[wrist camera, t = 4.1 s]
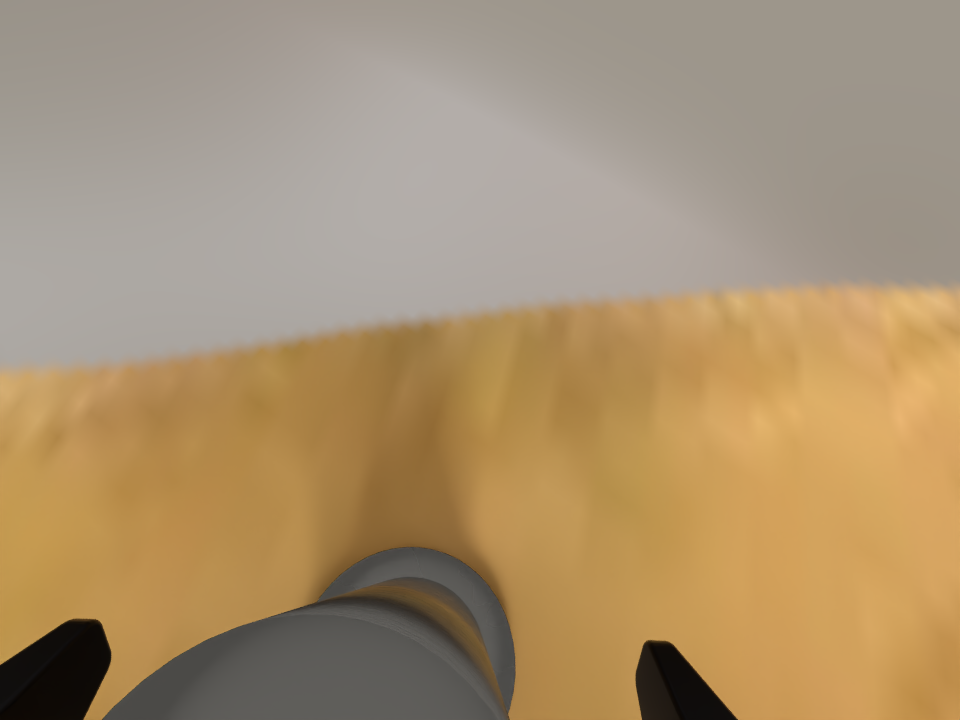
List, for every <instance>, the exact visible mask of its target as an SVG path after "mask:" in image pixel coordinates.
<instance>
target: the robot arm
mask: <svg viewBox="0 0 960 720" xmlns="http://www.w3.org/2000/svg"><path fill="white" fill-rule="evenodd" d="M110 662H111V649H110V646H109V644H108V641H107V638H106V635H105V632H104V629H103V626H102V624H101V622H100V621H98V620H96V619H72V620H69V621H67V622H65V623H63V624H61V625H60V626H58V627H57V628H55V629H54V630H52V631H51V632H49V633H48V634H46V635H45V636H43V637H42V638H40V639H39V640H37V641H36V642H34V643H33V644H31V645H30V646H28V647H27V648H25V649H24V650H22V651H21V652H19V653H18V654H16V655H15V656H13V657H12V658H10V659H9V660H7V661H6V662H4V663H2V664H1V665H0V720H83V719H84V717H85V715H86V713H87V711H88V709H89V707H90V705H91V703H92V701H93V699H94V697H95V695H96V693H97V691H98V689H99V687H100V685H101V683H102V681H103V679H104V677H105V675H106V673H107V671H108V668H109V665H110ZM636 689H637V694H638V700H639V705H640V711H641V716H642V720H738V719H737V718H736V717H735V716H734V715H733V714H732V712H731V711H730V710H729V709H728V708H727V707H726V705H725V704H724V703H723V702H722V701H721V700H720V698H719V697H718V696H717V695H716V694H715V693H714V691H713V690H712V689H711V688H710V687H709V686H708V684H707V683H706V682H705V681H704V680H703V679H702V677H701V676H700V675H699V674H698V673H697V672H696V671H695V669H694V668H693V667H692V666H691V665H690V664H689V662H688V661H687V660H686V659H685V658H684V657H683V655H682V654H681V653H680V652H679V651H678V650H677V648H676V647H675V646H674V645H673V644H671V643H670V642H668V641H656V640H648V641H646V642H645V643H644V645H643V648H642V652H641V655H640V659H639V663H638V666H637V670H636Z"/></svg>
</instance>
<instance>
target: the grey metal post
mask: <svg viewBox="0 0 960 720" xmlns="http://www.w3.org/2000/svg"><path fill="white" fill-rule="evenodd" d="M514 682H515V653H514V645H513V639H512V635H511V631H510V627H509V624H508V621H507V618H506V616H505V613H504V611H503V609H502V607H501V605H500V603H499V601H498V599H497V597H496V596H495V594H494V593H493V592H492V590H491V589H490V587H489V586H488V585H487V584H486V582H485V581H484V580H483V579H482V578H481V577H480V576H479V575H478V574H477V573H476V572H475V571H473V570H472V569H471V568H470V567H469V566H467V565H466V564H464V563H463V562H461V561H460V560H458V559H456V558H454V557H452V556H450V555H448V554H445V553H442V552H439V551H436V550H432V549H426V548H420V547H403V548H395V549H390V550H386V551H382V552H379V553H376V554H374V555H371V556H369V557H367V558H365V559H363V560H361V561H359V562H358V563H356V564H354V565H353V566H351V567H350V568H349V569H347V570H346V571H345V572H343V573H342V574H341V575H340V576H339V577H338V578H337V579H336V580H335V581H334V582H333V583H331V585H330V586H329V587H328V588H327V589H326V591H325V592H324V593H323V594H322V595H321V597H320V598H319V600H318V601H317V602H316V603H313V604H310V605H307V606H303V607H300V608H297V609H294V610H291V611H287V612H284V613H281V614H278V615H275V616H271V617H268V618H265V619H262V620H259V621H255V622H252V623H249V624H246V625H243V626H239V627H236V628H234V629H232V630H229V631H227V632H224V633H222V634H220V635H217V636H215V637H212V638H210V639H207V640H205V641H203V642H202V643H200V644H198V645H196V646H195V647H193V648H191V649H189V650H187V651H186V652H184V653H182V654H180V655H179V656H177V657H175V658H173V659H172V660H171V661H169V662H168V663H167V664H165V665H164V666H162V667H161V668H160V669H158V670H157V671H155V672H154V673H153V674H151V675H150V676H149V677H147V678H146V679H144V680H143V681H142V682H141V683H140V684H139V685H137V686H136V687H135V688H134V689H133V690H132V691H131V692H130V693H129V694H127V695H126V696H125V697H124V698H123V699H122V700H121V701H120V702H119V703H117V704H116V705H115V706H114V707H113V708H112V709H111V710H110V711H109V712H108V714H107V715H106V716H105V717H104V718H103V719H102V720H510V719H509V716H508V712H509V709H510V705H511V700H512V696H513V691H514Z"/></svg>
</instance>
